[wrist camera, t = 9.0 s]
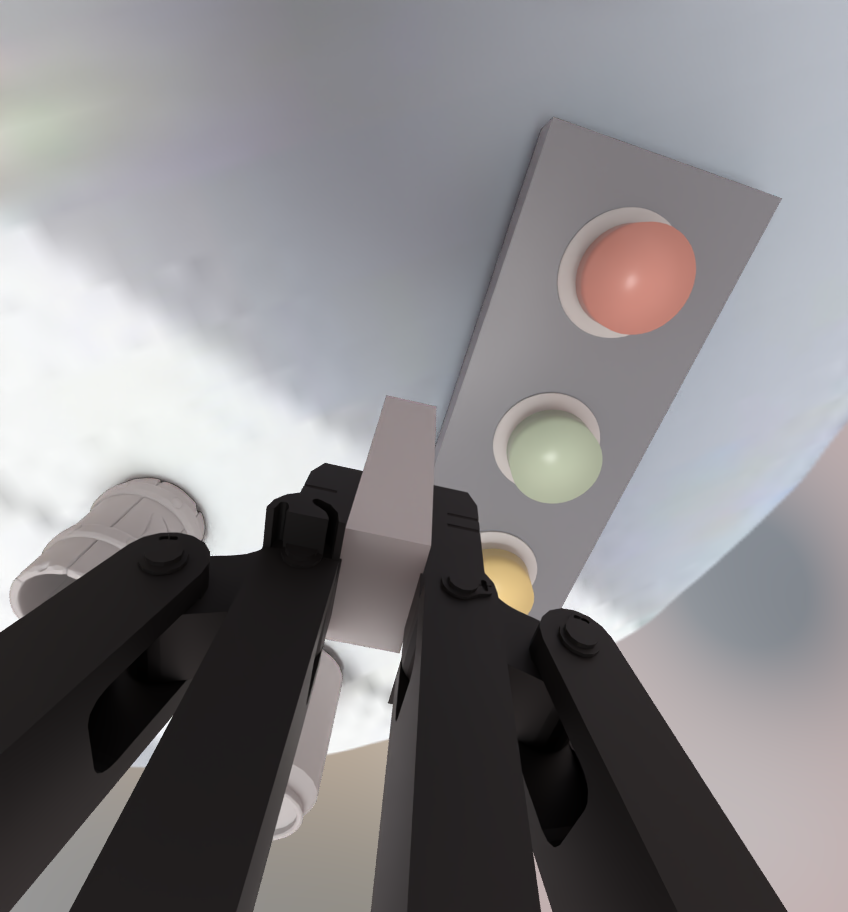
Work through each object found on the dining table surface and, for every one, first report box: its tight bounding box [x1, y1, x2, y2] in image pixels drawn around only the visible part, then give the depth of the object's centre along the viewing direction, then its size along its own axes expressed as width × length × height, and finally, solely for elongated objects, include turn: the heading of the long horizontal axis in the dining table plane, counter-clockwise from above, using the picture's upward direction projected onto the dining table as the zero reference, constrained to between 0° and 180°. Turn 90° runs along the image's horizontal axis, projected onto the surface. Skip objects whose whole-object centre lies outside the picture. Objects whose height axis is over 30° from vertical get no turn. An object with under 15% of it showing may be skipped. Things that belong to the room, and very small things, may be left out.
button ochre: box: [482, 548, 534, 615], centre depth 32 cm, size 5×5×2 cm
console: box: [433, 117, 782, 621], centre depth 31 cm, size 31×12×3 cm, turn 164°
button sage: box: [506, 410, 603, 504], centre depth 28 cm, size 5×5×2 cm
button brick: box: [576, 222, 696, 335], centre depth 24 cm, size 5×5×2 cm
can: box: [272, 649, 343, 840], centre depth 37 cm, size 8×8×12 cm
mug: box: [9, 478, 205, 619], centre depth 32 cm, size 8×12×12 cm, turn 16°
